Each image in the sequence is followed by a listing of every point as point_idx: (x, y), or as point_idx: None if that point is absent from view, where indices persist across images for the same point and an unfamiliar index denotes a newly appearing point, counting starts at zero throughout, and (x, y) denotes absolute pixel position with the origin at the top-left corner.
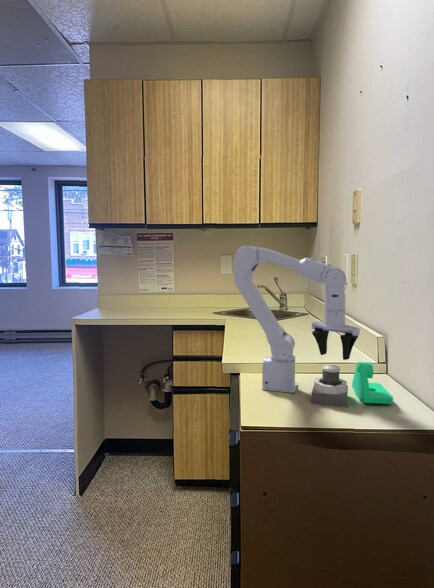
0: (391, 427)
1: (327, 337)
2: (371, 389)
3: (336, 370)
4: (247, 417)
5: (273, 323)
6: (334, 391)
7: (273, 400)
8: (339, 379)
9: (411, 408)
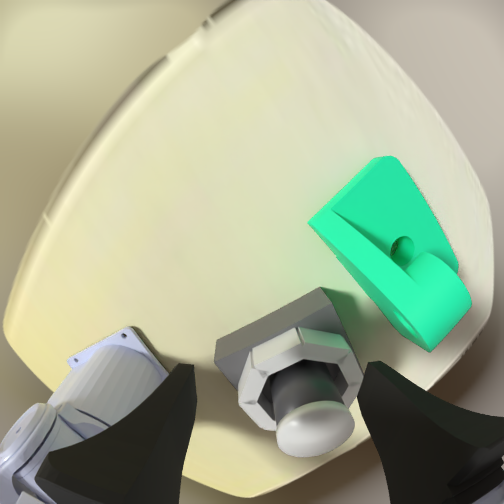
0: (448, 364)
1: (157, 448)
2: (395, 237)
3: (347, 435)
4: (226, 490)
5: None
6: None
7: (191, 441)
8: (319, 354)
9: (471, 236)
